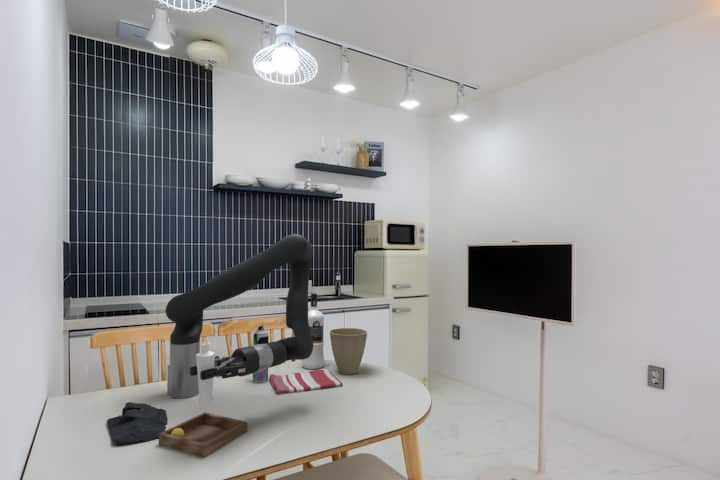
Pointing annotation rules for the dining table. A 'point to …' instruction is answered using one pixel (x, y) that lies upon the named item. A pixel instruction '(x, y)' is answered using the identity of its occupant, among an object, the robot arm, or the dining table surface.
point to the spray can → (258, 338)
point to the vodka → (315, 336)
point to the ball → (178, 432)
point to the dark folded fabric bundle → (137, 424)
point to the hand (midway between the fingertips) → (195, 373)
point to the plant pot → (348, 348)
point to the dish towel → (304, 381)
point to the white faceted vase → (206, 386)
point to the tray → (204, 434)
